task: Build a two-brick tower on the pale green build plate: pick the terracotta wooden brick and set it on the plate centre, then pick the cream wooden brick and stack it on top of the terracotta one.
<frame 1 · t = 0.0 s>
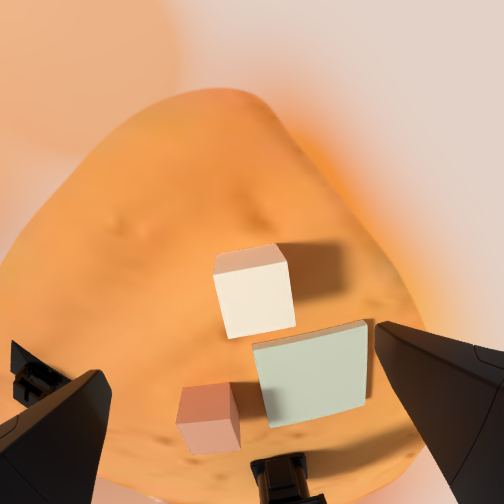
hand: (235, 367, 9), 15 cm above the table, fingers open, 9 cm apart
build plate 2: (44, 375, 26), on the table
terracotta brick: (211, 401, 27), on the table
build plate: (313, 376, 26), on the table
cream brick: (251, 276, 24), on the table
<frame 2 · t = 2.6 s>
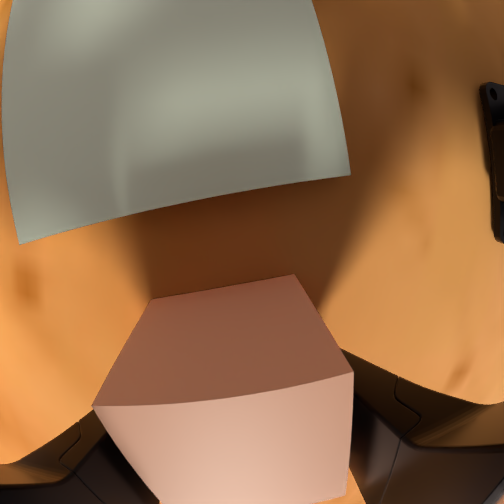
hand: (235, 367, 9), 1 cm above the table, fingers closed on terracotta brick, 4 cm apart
terracotta brick: (235, 349, 10), on the table, touching gripper
build plate: (144, 48, 7), on the table
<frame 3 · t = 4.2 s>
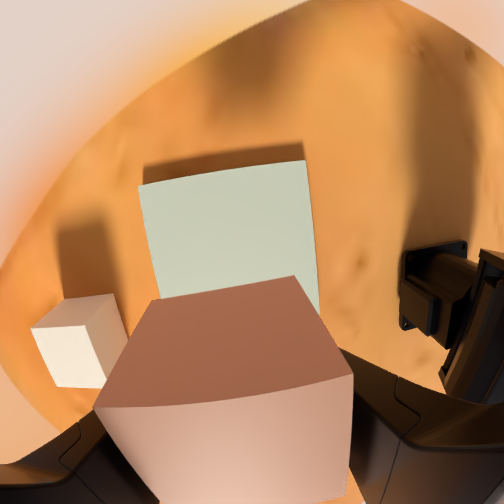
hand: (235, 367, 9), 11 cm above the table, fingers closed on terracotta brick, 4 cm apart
terracotta brick: (235, 350, 10), point 10 cm above the table, touching gripper
build plate: (232, 250, 19), on the table
cream brick: (96, 323, 20), on the table
when the fingers open (3 cm above the table, at t = 6.1 s): terracotta brick stays where it is, resting on build plate.
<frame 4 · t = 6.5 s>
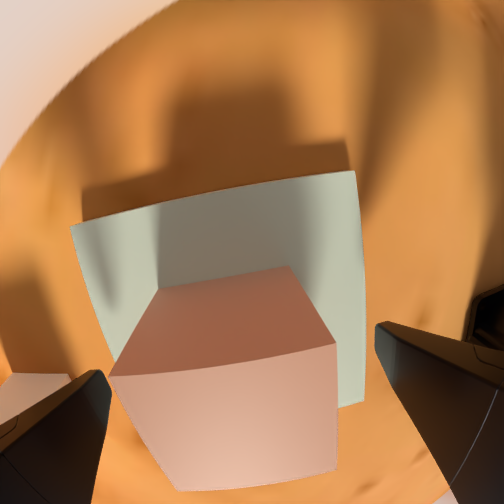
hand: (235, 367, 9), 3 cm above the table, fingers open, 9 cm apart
terracotta brick: (234, 335, 11), point 1 cm above the table, touching build plate
build plate: (233, 322, 12), on the table
cream brick: (56, 405, 12), on the table
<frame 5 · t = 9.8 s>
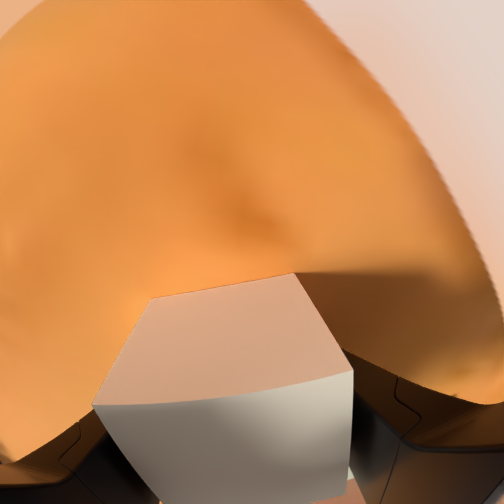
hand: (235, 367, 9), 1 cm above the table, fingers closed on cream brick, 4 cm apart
terracotta brick: (349, 496, 12), point 1 cm above the table, touching build plate
cream brick: (235, 348, 10), on the table, touching gripper
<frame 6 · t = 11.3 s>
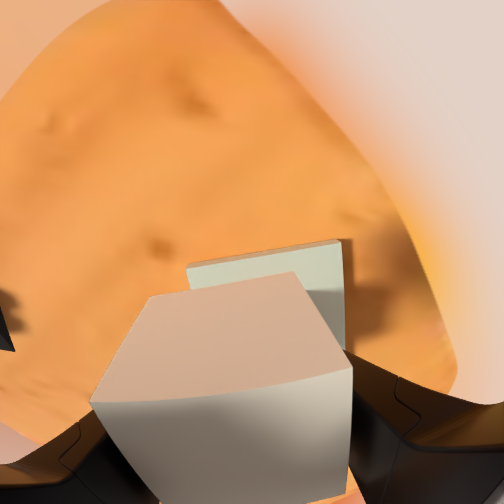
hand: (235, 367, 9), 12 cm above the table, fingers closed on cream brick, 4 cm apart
build plate: (273, 318, 21), on the table
cream brick: (234, 346, 10), point 11 cm above the table, touching gripper
when the fingers open (8 cm above the table, at t = 12.9 s): cream brick stays where it is, resting on terracotta brick.
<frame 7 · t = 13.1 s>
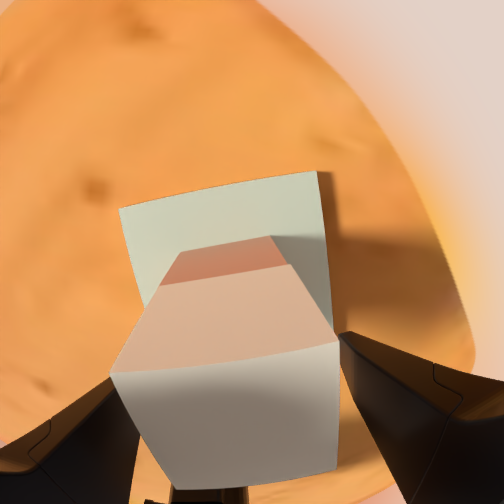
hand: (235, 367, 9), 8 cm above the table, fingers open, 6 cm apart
terracotta brick: (233, 286, 15), point 1 cm above the table, touching build plate, cream brick
build plate: (233, 279, 16), on the table
cream brick: (235, 333, 11), point 6 cm above the table, touching terracotta brick
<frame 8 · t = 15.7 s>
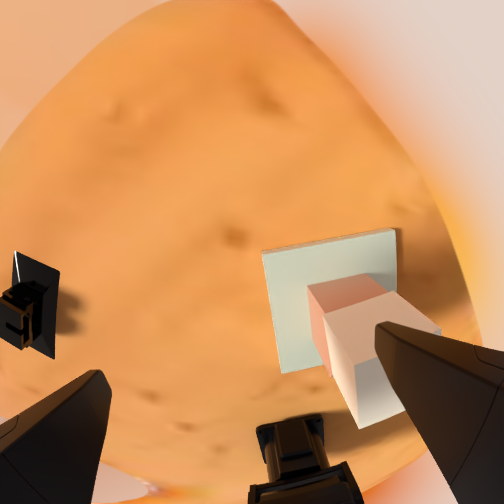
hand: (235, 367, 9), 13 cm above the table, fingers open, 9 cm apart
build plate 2: (36, 303, 22), on the table
terracotta brick: (338, 307, 22), point 1 cm above the table, touching build plate, cream brick
build plate: (334, 301, 23), on the table
cream brick: (363, 334, 17), point 6 cm above the table, touching terracotta brick
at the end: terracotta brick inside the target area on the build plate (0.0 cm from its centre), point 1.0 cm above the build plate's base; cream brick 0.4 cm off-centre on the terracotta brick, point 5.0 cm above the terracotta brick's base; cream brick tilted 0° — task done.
